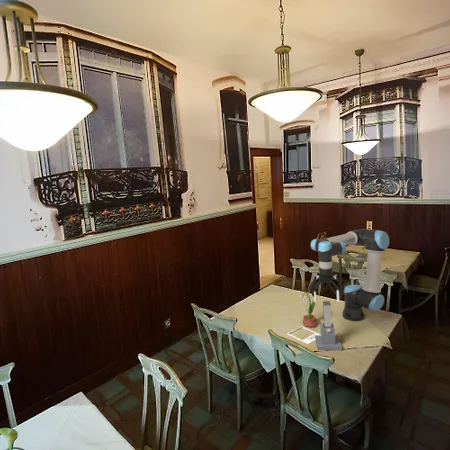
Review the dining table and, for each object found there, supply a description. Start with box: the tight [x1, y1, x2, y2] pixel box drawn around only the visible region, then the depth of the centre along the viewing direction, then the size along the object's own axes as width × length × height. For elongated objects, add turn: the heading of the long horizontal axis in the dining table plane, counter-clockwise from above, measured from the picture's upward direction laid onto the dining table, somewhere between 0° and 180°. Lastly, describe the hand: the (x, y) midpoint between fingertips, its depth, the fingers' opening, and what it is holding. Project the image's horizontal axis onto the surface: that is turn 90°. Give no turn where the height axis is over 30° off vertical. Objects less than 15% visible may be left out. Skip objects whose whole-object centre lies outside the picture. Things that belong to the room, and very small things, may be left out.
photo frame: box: [286, 325, 321, 345], centre depth 212 cm, size 15×1×18 cm
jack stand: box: [315, 322, 343, 351], centre depth 198 cm, size 14×14×12 cm
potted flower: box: [299, 292, 318, 328], centre depth 223 cm, size 12×10×25 cm
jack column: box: [322, 300, 332, 328], centre depth 197 cm, size 4×4×25 cm
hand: (326, 301), depth 195 cm, fingers open, 13 cm apart
